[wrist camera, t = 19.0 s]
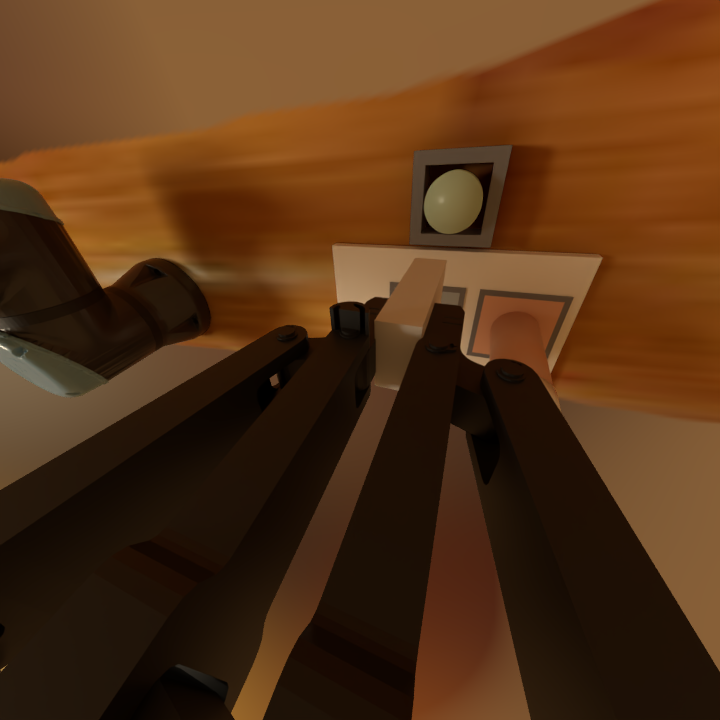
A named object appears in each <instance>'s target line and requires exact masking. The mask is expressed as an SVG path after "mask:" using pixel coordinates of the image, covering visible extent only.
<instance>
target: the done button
mask: <svg viewBox="0 0 720 720" xmlns="http://www.w3.org/2000/svg"><path fill="white" fill-rule="evenodd" d="M482 201H483V189H482V185H481V183H480V181H479V179H478V178H477V177H476V175H474V174H473V173H472V172H470V171H468V170H464V169H454V170H451V171H448V172H446V173H444V174H443V175H441V176H440V177H438V178H437V179H436V180H435V181H434V182H433V183H432V185H431V186H430V188H429V189H428V191H427V194H426V197H425V201H424V212H425V216H426V219H427V221H428V223H429V224H430V225H431V226H432V228H434V229H435V230H437V231H438V232H441V233H444V234H454V233H458V232H461V231H463V230H465V229H466V228H468V227H469V226H470V225H471V224H472V223H473V222H474V221H475V219H476V218H477V216H478V214H479V212H480V210H481V207H482Z"/></svg>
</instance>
